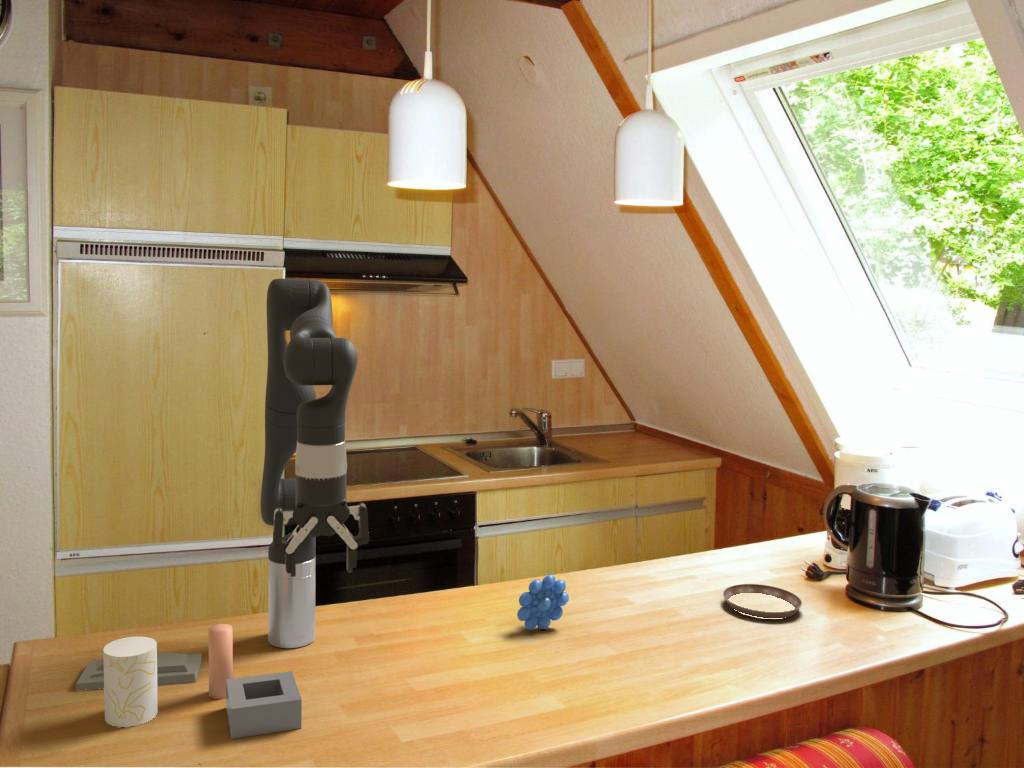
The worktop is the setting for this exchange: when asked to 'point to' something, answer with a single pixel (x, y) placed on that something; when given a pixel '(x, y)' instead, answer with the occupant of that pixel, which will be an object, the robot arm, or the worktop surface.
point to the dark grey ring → (766, 590)
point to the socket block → (263, 704)
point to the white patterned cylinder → (130, 681)
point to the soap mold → (168, 670)
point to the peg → (220, 659)
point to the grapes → (542, 602)
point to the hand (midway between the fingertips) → (321, 572)
